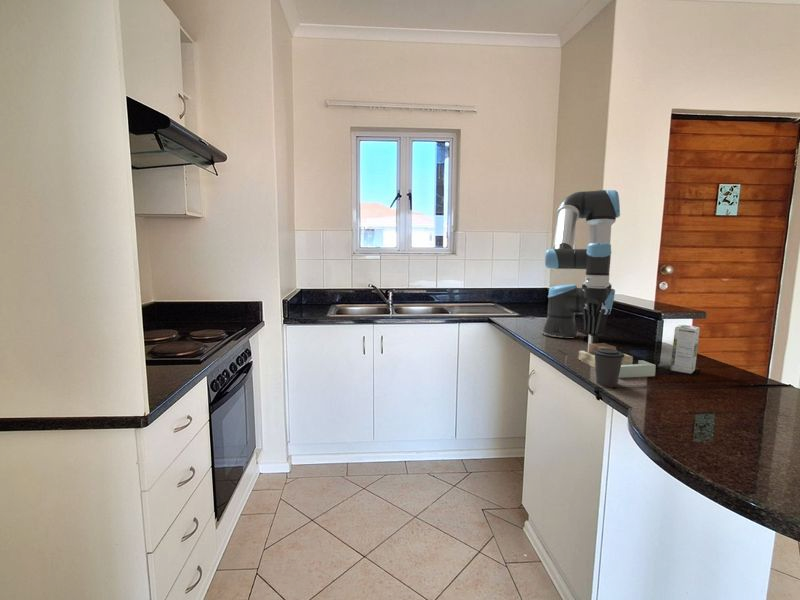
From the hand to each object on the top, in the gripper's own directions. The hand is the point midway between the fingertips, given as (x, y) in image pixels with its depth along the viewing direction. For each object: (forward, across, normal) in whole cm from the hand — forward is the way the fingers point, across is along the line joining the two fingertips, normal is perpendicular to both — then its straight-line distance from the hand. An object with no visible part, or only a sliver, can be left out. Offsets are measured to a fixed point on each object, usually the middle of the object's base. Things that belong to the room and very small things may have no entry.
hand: (592, 352), depth 142 cm
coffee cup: (+3, +26, -12) cm, 29 cm away
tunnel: (+2, +6, 0) cm, 7 cm away
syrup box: (+2, +17, +20) cm, 27 cm away
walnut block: (+2, +5, 0) cm, 5 cm away
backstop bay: (+2, +18, 0) cm, 19 cm away
